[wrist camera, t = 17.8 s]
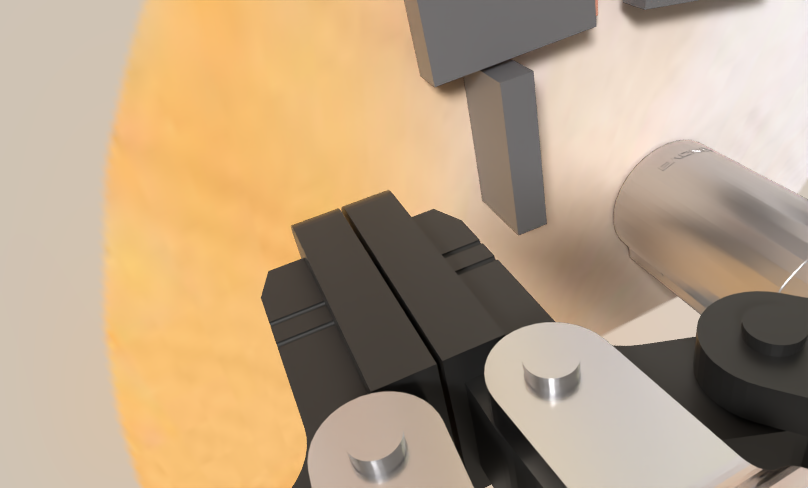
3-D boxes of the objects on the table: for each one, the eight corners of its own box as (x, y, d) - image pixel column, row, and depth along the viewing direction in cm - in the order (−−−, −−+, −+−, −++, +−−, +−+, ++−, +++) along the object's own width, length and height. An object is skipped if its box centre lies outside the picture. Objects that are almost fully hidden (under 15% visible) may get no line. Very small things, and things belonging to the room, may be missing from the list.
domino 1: (420, 76, 37) (576, 18, 38) (434, 87, 35) (596, 26, 37) (400, -15, 34) (570, -73, 36) (415, -8, 32) (591, -69, 34)
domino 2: (490, 47, 39) (507, 189, 45) (459, 57, 39) (481, 199, 45) (533, 71, 35) (546, 223, 41) (500, 83, 35) (518, 235, 41)
